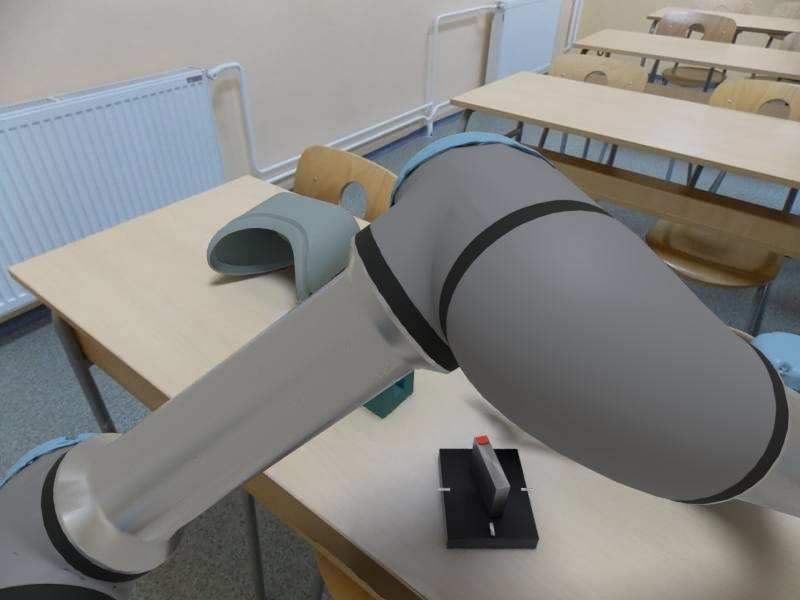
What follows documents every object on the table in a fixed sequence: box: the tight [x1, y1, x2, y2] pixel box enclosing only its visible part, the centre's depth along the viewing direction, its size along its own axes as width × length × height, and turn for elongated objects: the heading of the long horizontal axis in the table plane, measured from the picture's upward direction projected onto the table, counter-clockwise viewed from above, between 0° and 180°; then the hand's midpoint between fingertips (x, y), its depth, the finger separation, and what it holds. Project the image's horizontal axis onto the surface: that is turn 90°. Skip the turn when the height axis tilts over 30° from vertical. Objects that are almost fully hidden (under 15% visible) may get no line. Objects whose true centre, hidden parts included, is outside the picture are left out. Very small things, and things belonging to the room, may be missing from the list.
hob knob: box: [469, 434, 510, 518], centre depth 59 cm, size 7×2×6 cm, turn 13°
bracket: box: [362, 370, 415, 420], centre depth 76 cm, size 18×7×8 cm, turn 50°
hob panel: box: [437, 447, 540, 550], centre depth 61 cm, size 12×11×2 cm
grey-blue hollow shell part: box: [206, 191, 362, 303], centre depth 96 cm, size 22×19×13 cm
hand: (497, 336), depth 75 cm, fingers open, 13 cm apart
